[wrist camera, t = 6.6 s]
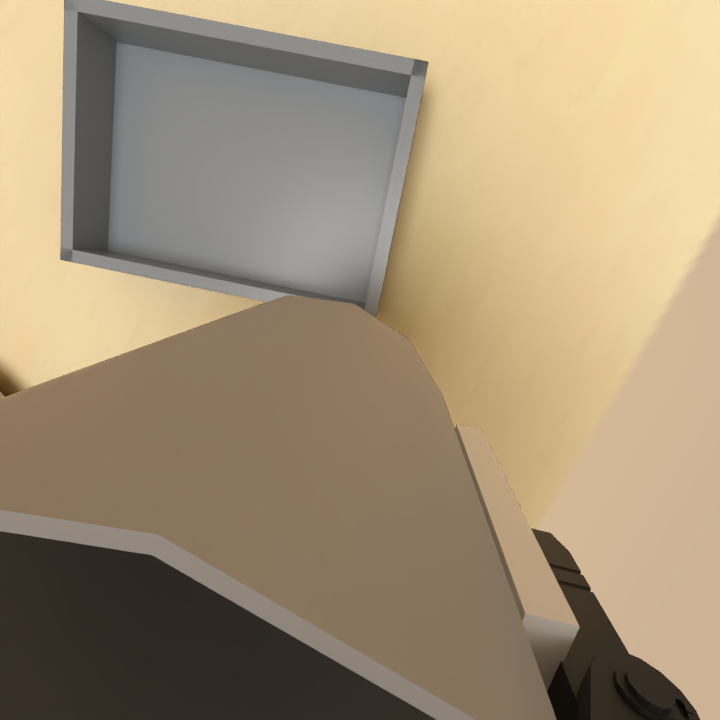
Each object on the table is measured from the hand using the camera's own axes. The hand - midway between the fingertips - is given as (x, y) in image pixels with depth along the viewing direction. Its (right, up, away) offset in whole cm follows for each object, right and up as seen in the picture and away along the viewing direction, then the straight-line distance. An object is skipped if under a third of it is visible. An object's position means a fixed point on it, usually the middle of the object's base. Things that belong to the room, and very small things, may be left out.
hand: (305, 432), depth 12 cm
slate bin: (-6, +15, +17) cm, 24 cm away
